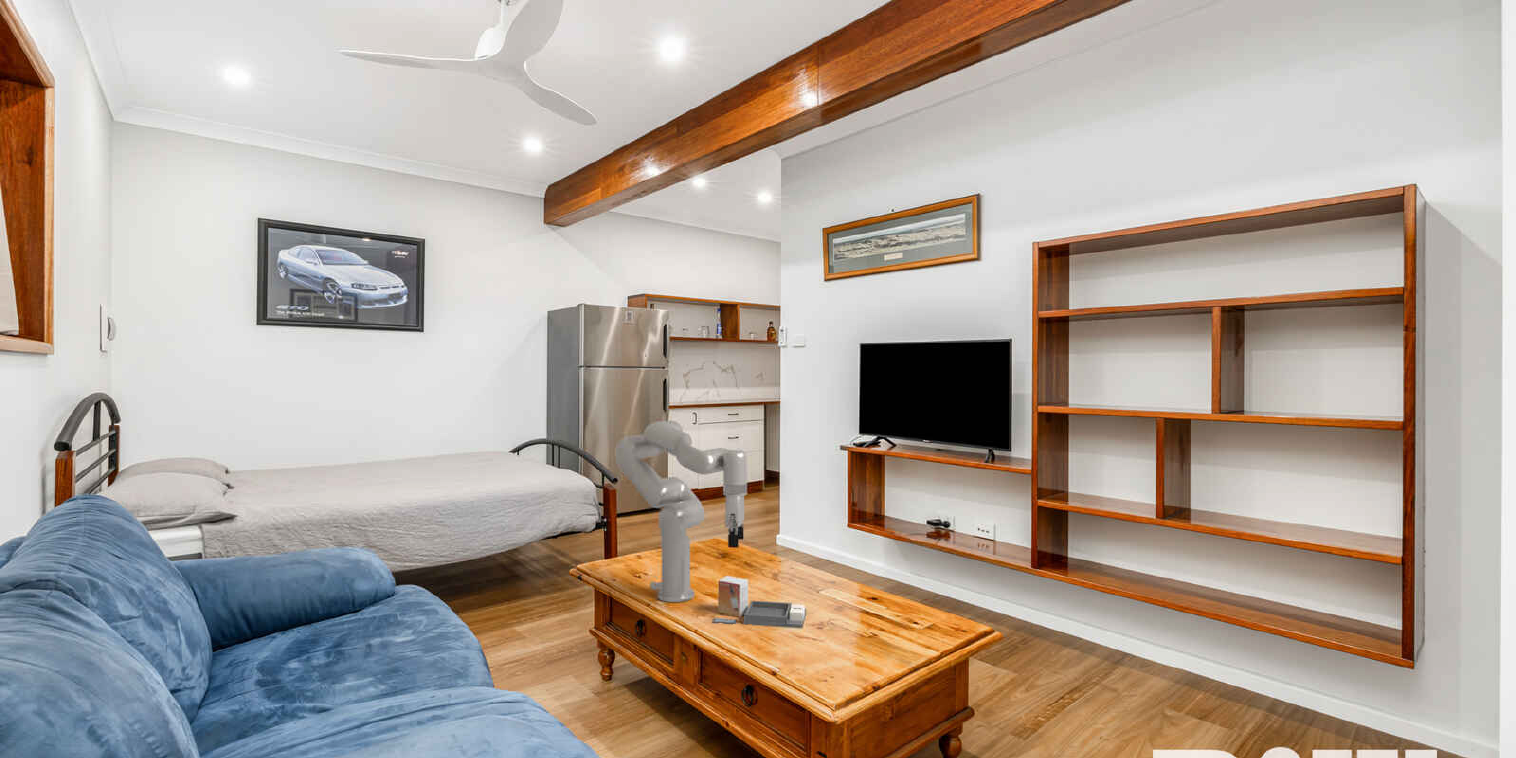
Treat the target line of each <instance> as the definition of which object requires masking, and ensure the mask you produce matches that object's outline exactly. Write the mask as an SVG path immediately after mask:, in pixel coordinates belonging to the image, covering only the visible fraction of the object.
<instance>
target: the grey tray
mask: <svg viewBox="0 0 1516 758" xmlns="http://www.w3.org/2000/svg"><path fill="white" fill-rule="evenodd" d="M806 615H807V608H806V604H796V603H795V604H794V603H792V602H780V601H763V600H750V603H748V608H747V610H746V612H745V614H743V616H744V617H743V620H742V621H743V622H742V623H743V625H747V624H752V626H762V625H763V626H764V627H777V628H780V627H781V628H791V629H793V628H794V629H795V628H796V629H803V628H804V625H805V624H804V623H805V619H806Z"/></svg>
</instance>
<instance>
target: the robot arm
mask: <svg viewBox="0 0 1516 758" xmlns="http://www.w3.org/2000/svg"><path fill="white" fill-rule="evenodd" d="M692 442H693V440H692V437H691V435H689V433H686V432H684V429H683V427H682V425H681V423H679V422H677V421H675V420H662V421H654V422H652V423H649V425H647V426H646V427H645V429H644V433H643V434H636V435H630V436H625V437H624V438H622V439H620V440H619V441H618V442H617V443H616V446H615V449H614V455H615V456H614V457H615V462H616V464H617V466H618V468H619V470H620V471H621V472H622V474H624V476H625V477H626V478H627V479H628V480H629V481H630V482H631V483H632V484H633V485H634V487H635V488H636V490H637V491H638V492H639V494H640V495H641V496H642V498H644V500H645V502H647V503H648V505H649V506H650V507H652V508H655V509H660V508H662V509H660V512H659V515H658V525H659V531H660V536H661V581H659V582H656V581H651V582H650V584H649V587H650V589H651V590H652V591H656V590H657V591H658V592H657V593H656V597H657V598H658V599H659V600H660V601H662V602H667V603H682V602H686V601H690V600H692V599H694V597H695V595H696V594H695V590H694V589H692V588H691V543H690V539H689V535H688V534H687V529H691V528H694V527H697V526H698V525H700V524H701V523H702V522H703V521H704V520H705V515H706V512H705V511H706V510H705V508H704V506H703V505H704V504H703V503H702V502H701V500H700V499H699V498H698V497H697V495H696V494H695V493H694V492H693V491H692V490H691V488H690V487H689V486H688V485H687V484H686V482H685V481H684V480H682V479H681V478H679V477H675V476H669V477H665V478H663V477H661V476H660V475H659V474H658V473H657V472H656V470H655V469H654V468H653V467H652V466H650V464H648V463H646V462H644V461H643V459H647V458H653V457H656V456H658V455H661V454H662V453H664V452H665V453H667V454H669V455H672V456H673V457H675V458H676V460H677V462H678V463H679V464H680V465H681V466H682V467H683V468H685V469H687V470H688V471H692V472H693V473H696V474H699V475H703V476H704V475H706V476H707V475H710V474H714V473H720V472H722V474H723V476H722V477H723V478H722V479H723V480H722V483H723V484H722V485H723V486H722V487H723V489H722V490H723V495H724V496H725V505H724V527H725V528H728V529H727V530H728V532H727V546H728V548H733V549H734V548H735V549H737V548H739V546H740V544H739V543H740V542H739V540H744V539H745V538H744V535H745V534H744V523H743V522H744V521H745V496H746V495H748V478H747V477H748V476H747V475H748V469H747V468H748V467H747V462H748V461H747V454H746V451H744V450H737V449H736V450H735V449H734V450H733V449H731V450H730V449H728V448H722V447H718V448H717V447H716V448H712V449H706V450H700V449H698V448H696V447H693V446H692Z"/></svg>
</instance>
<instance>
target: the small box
mask: <svg viewBox="0 0 1516 758" xmlns="http://www.w3.org/2000/svg"><path fill="white" fill-rule="evenodd" d="M717 599H718V600H717V603H718V605H717V607H718V608H717V612H718V613H719V614H724V615H728V616H732V615H733V617H736V616H738V617H737V618H740V617H742V616H744V614H745V612H746V610H747V608H748V606H749V579H748V578H745V579H744V578H739V577H736V576H735V577H734V576H730V575H726V576H724V577H722V578H721V579H719V580H718V597H717Z"/></svg>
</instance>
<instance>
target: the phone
mask: <svg viewBox="0 0 1516 758" xmlns="http://www.w3.org/2000/svg"><path fill="white" fill-rule="evenodd" d="M712 620H713V621H712V623H711V624H718V623H723V624H722V625H733V624H735V625H736V623H737V622H738V619H736V618H722V617H715V618H714V619H712ZM736 621H737V622H736Z"/></svg>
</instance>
